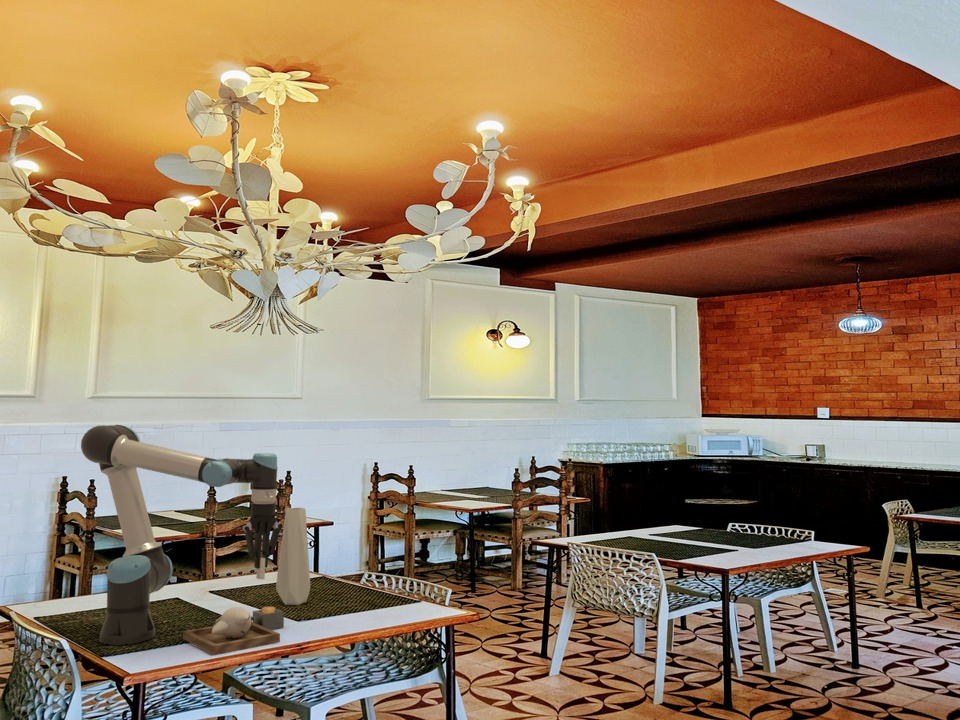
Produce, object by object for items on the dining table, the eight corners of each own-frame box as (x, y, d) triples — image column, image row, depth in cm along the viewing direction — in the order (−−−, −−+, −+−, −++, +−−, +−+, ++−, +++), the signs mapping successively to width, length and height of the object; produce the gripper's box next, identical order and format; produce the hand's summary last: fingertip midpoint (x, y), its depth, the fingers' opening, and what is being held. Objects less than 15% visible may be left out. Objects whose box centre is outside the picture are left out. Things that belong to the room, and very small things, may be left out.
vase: (300, 608, 282) (301, 510, 284) (271, 605, 286) (272, 510, 288) (319, 600, 293) (319, 507, 296) (291, 598, 297) (292, 506, 300)
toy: (225, 646, 247) (207, 648, 233) (216, 618, 250) (199, 618, 235) (266, 629, 248) (252, 629, 234) (258, 600, 251) (243, 599, 237)
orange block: (265, 626, 252) (265, 610, 253) (259, 624, 255) (259, 607, 256) (277, 624, 255) (277, 608, 255) (271, 622, 258) (271, 605, 258)
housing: (262, 631, 250) (262, 615, 250) (252, 627, 255) (252, 611, 256) (283, 627, 255) (283, 611, 255) (273, 623, 260) (273, 607, 260)
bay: (212, 655, 225) (212, 646, 225) (183, 639, 242) (183, 631, 242) (279, 642, 238) (279, 633, 238) (247, 628, 255) (247, 620, 255)
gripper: (249, 504, 252) (245, 582, 250) (288, 502, 260) (285, 578, 259) (238, 502, 258) (235, 578, 256) (277, 500, 266) (274, 574, 264)
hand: (260, 578), depth 257 cm, fingers closed
